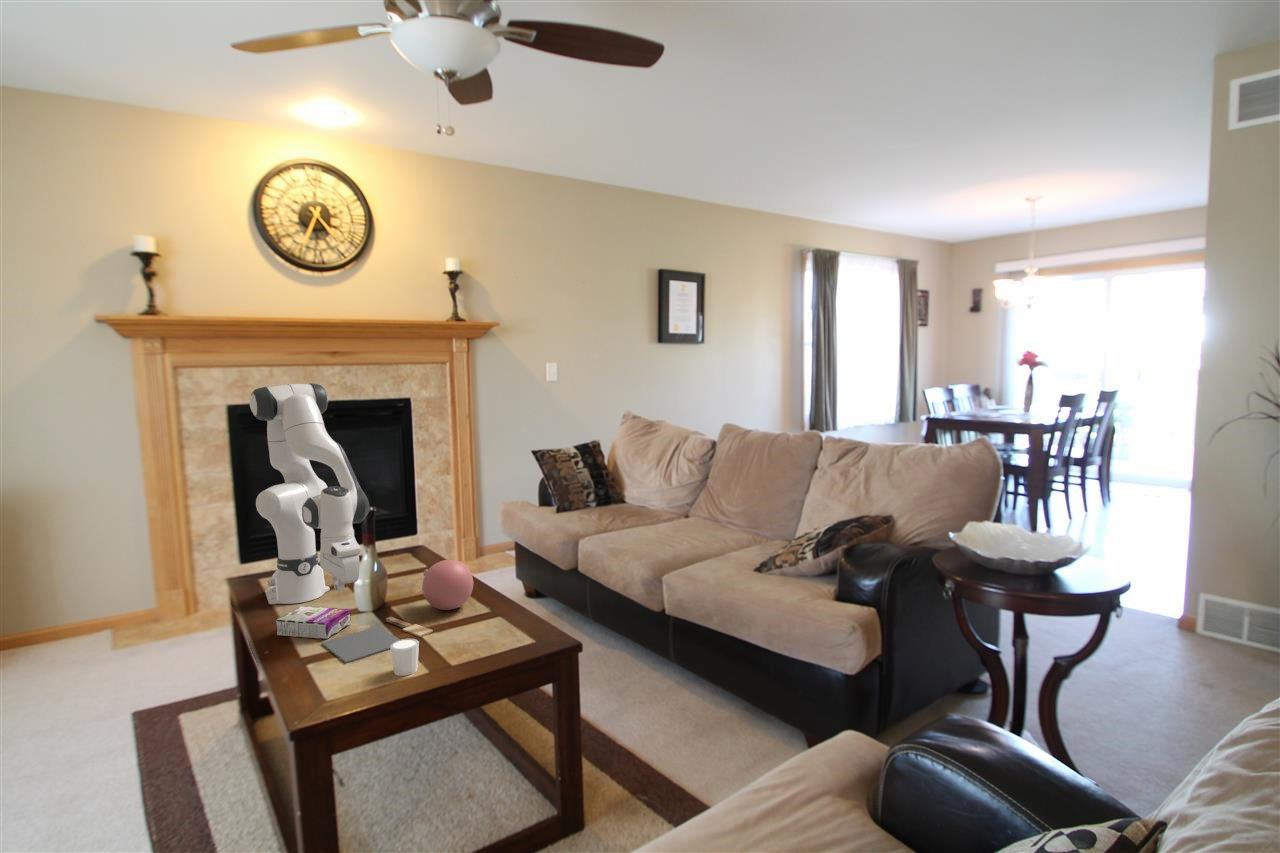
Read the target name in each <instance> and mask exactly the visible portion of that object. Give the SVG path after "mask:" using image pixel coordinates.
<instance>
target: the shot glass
mask: <svg viewBox="0 0 1280 853" xmlns="http://www.w3.org/2000/svg"><path fill="white" fill-rule="evenodd" d="M419 645H420V641H419V640H417V639H415V638H402V639H400V640H399V641H396V642H394V643H392V644H391V646H390V654H391V656H390V657H391V660H392V668H393V673H394V675H396V676H400V677H403V676H409V675H412V674H414V673H416V672H417V671H418V666H419Z"/></svg>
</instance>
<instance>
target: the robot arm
mask: <svg viewBox="0 0 1280 853" xmlns="http://www.w3.org/2000/svg"><path fill="white" fill-rule="evenodd" d="M250 394H251V395H250V398H249V407H250V410H251V413H252V414H253V416H254V417H255V418H256V419H258V420H260V421H266V422H267V423H266V424H267V425H266V426H267V427H266V431H267V432H266V433H267V437H266V438H267V445H268V452H269V453H268V454H269V462H270V465H271V466H272V468H273V469H275V470H277V471H279V472H280V473H281V475H282V477H283V479H284V483H283V482H282V483H278V484H275V485H272V486H270V487H267V488H266V489H264V490H262V491H261V492H260V493H259V494H258V495H257V497H256V499H255V507H256V511H257V512H258V514H259V515H260V516H261V517H262V518H263V519H266V520H267V521H268V522H269V523H270V524H271V526H272V528H273V530H274V532H275V536H276V542H277V550H278V552H277V554H278V557H277V560H276V568H277V569H276V570H275V572H274V573H273V574H272V576H271V578H270V579H267V587H268V588H265V596H266V599H267V602H268V605H277V604H278V605H279V604H285V605H289V604H290V605H292V604H299V603H304V602H310V601H312V600H313V601H314V600H316V599H318V598H320V597H322V596H324V594H325V593H327V592H329V591H330V590H331V589H330V586H328V585H326V582H325V576H324V571H326V572H328V574H330V575H331V579H332V580H333V587H334V590H336V591H337V592H344V591H345V585H346V584H350V583H351V584H352V583H355V582H358V580H359V578H360V557H359V554H361V552H362V551H361V550H362V549H361V546H360V544H359V543H358V542H357V540H356V537H355V529H354V527H353V525H354V524H360V523H361V522H363V520H365V518H366V517H367V516H368V515H369V512H370V509H371V508H370V502H369V499H368V497H367V495H366V494H365V492H364V490H363V489H362V487H361V485H360V483H359V480H358V478H357V476H356V474H355V471H354V470H353V467H352V465H351V462H350V460H349V459H348V456H347V454H346V452H345V450H344V448H343V447H342V445H341V444H340V443H339V442H337V441H335V440H334V439H333V438H332V437H331V436H330V435H329V433H328V431H327V429H326V427H325V423H324V420H323V416H322V414H324V413H325V412H326V410H327V408H328V404H329V397H328V394H327V391H326V388H325V387H323V386H322V385H321V384H319V383H318V384H317V383H312V382H311V383H310V382H309V383H307V384H306V383H288V384H281V385H274V386H268V387H267V386H262V387H258V388H256V389H254V390H253V391H252V392H251V393H250ZM310 461H315V462H318V463H322V464H323V465H325V466H328V467H330V468H331V469H332V470H333V472H334V474H335V476H336V478H337V481H338V483H339V485H340V486H328V485H327V484H326V482H325V481H324V480H323V479H321V478H319V477H318V475H317V474H316V473H315V471H314V469H313V467H312V465H311V462H310ZM315 529H321V530H320V534H319V535H320V550H319V555H318V552H317V549H316V548H317V547H316V534H315Z"/></svg>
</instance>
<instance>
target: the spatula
mask: <svg viewBox="0 0 1280 853" xmlns="http://www.w3.org/2000/svg"><path fill="white" fill-rule="evenodd" d="M385 621H386V622H387V623H389V624H392V625H395V626H398V627H399V628H402V631H403V632H406V633H408V634H410V635H413V636H416V637H419V638H421V637H423V636H427V635H429V634H430V633H433V632H434V629H431V628H427V627H425V626H423V625H419V624H417V623H415V624H412V623H410V622H407V621H404V620H401V619H398V618H395V617H393V616H389V617H386V618H385Z"/></svg>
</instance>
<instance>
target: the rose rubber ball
mask: <svg viewBox="0 0 1280 853" xmlns="http://www.w3.org/2000/svg"><path fill="white" fill-rule="evenodd" d="M421 586H422V594H423V596H424V599H425V600H426V602H427V603H428V604H429V605H431V607H434V608H435V609H437V610H442V611H451V610H456V609H458V608H460V607H461V606H463V605H464V604H465V603H466V602H467V601H468V600H469V599H470V597H471V596H472V593H473V589H474V578H473V574H472V572H471V570H470V569H469V568H468V567H467V566H466V565H465V564H464V563H462V562H461V561H459V560H455V559H445V560H441V561H438V562H436V563H435V564H433V565H432V566H430V567H429V569H424V573H423V580H422V585H421Z"/></svg>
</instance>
